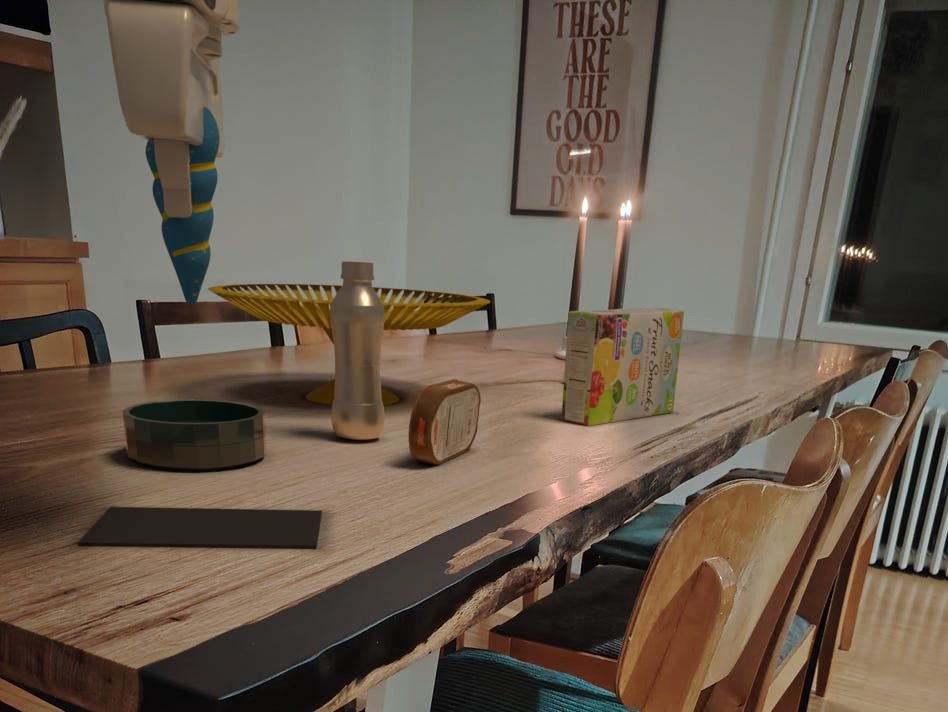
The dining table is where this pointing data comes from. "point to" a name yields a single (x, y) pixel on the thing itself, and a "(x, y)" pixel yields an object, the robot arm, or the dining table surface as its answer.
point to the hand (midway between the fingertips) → (187, 218)
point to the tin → (444, 421)
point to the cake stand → (319, 316)
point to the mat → (205, 528)
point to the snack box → (620, 364)
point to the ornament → (193, 233)
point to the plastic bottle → (357, 354)
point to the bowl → (194, 434)
